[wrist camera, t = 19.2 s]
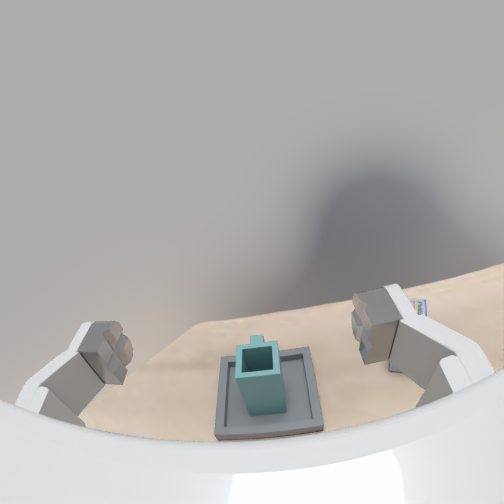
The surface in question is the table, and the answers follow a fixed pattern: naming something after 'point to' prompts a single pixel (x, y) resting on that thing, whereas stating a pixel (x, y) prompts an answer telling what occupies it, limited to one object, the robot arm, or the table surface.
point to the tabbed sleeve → (260, 376)
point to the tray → (273, 425)
